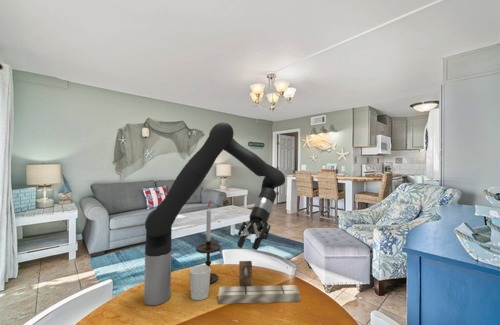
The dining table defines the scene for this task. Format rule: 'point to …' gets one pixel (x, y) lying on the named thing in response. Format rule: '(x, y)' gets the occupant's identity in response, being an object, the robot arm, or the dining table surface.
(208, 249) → the candlestick
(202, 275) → the white cup
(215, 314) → the dining table surface
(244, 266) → the upright wooden pillar
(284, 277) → the dining table surface
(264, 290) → the batten
